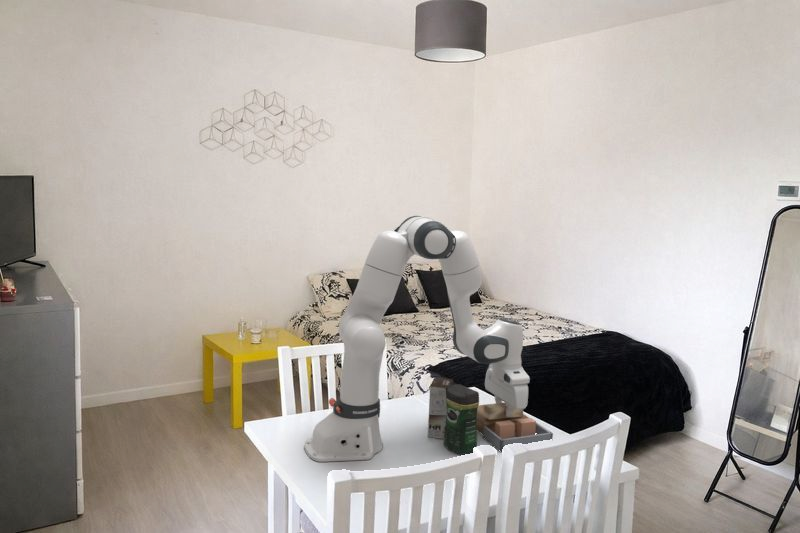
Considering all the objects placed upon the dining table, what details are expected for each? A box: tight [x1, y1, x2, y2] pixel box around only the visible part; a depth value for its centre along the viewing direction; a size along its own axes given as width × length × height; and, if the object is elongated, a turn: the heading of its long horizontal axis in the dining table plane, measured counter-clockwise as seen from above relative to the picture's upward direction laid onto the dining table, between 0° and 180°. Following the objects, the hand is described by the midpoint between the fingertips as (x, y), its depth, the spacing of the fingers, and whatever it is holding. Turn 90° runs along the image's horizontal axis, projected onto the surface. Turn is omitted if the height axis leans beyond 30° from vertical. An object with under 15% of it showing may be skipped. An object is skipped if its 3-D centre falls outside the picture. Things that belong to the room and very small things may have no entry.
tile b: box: [516, 417, 537, 437], centre depth 193 cm, size 5×5×3 cm
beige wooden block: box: [483, 402, 524, 420], centre depth 198 cm, size 12×4×4 cm, turn 111°
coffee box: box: [427, 377, 454, 440], centre depth 194 cm, size 9×6×16 cm
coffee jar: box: [443, 383, 480, 455], centre depth 183 cm, size 10×8×19 cm
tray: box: [482, 422, 554, 453], centre depth 191 cm, size 18×11×4 cm, turn 111°
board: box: [477, 401, 530, 436], centre depth 203 cm, size 16×15×4 cm
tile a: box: [495, 420, 515, 439], centre depth 191 cm, size 5×5×3 cm
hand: (503, 412), depth 198 cm, fingers closed on beige wooden block, 4 cm apart
